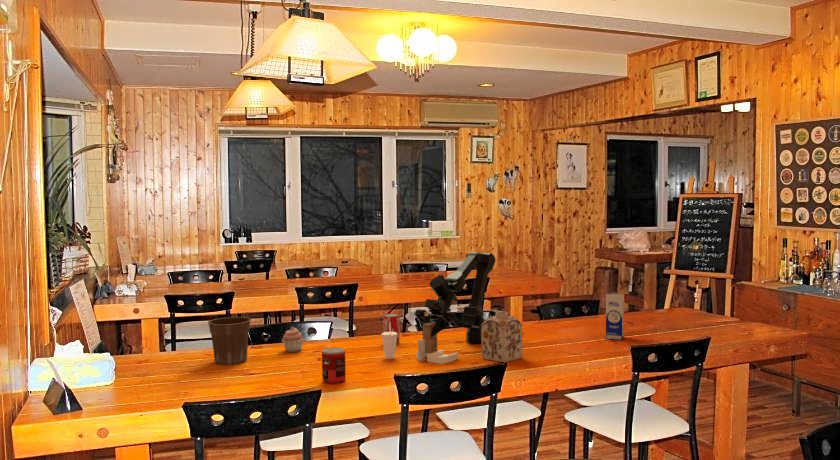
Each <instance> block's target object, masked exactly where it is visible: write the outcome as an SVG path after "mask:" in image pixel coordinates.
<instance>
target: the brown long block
mask: <svg viewBox="0 0 840 460" xmlns="http://www.w3.org/2000/svg"><path fill="white" fill-rule="evenodd" d="M435 324H436V322H433V321H432V322H429V323H426V324H424V323H423V324H422V339H423V340H425V353H432V352H436V351H438V333H437V334H436V335H434V336H433V337H432V336H431V333H432V330H433V328H434V326H435Z"/></svg>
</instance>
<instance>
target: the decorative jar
mask: <svg viewBox="0 0 840 460" xmlns="http://www.w3.org/2000/svg"><path fill="white" fill-rule="evenodd" d="M484 320H485V321H484V322H483V323H482V325H481V343H480V344H481V346H480V347H481V349H480V350H481V359H483V360H488V361H493V362H497V363H501V362H506V363H509V362H512V361H515V360H519V359H522V358H523V324H522V323H521V321H520V320H519V319H518V318H517V317H516V316H513V315H509V313H508V312H507V311H503V310H502V311H501V310H500V311H496V312H495V314H494V315H490V316H487V317H486V318H485V319H484Z"/></svg>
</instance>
